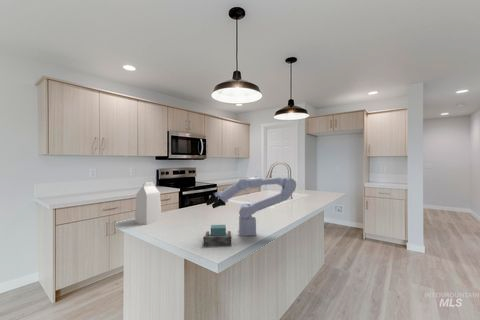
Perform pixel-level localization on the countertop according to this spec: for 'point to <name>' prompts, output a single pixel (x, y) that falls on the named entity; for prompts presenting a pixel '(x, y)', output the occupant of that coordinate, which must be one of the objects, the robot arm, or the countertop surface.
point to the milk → (148, 204)
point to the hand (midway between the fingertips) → (209, 205)
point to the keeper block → (218, 230)
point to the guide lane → (216, 240)
